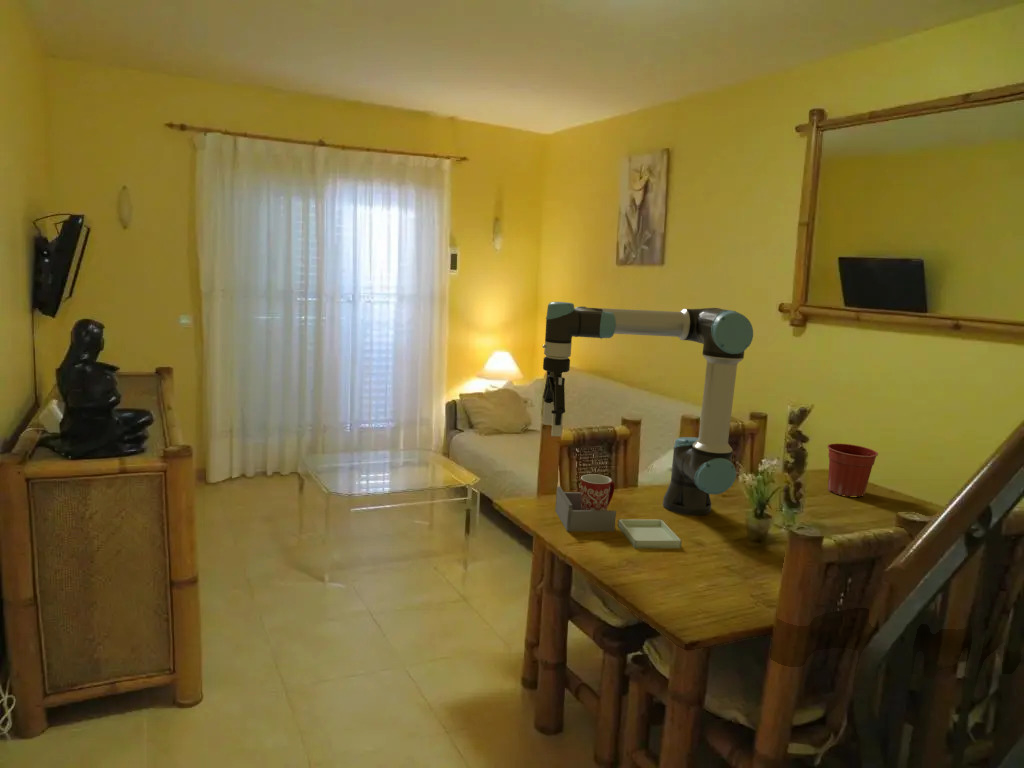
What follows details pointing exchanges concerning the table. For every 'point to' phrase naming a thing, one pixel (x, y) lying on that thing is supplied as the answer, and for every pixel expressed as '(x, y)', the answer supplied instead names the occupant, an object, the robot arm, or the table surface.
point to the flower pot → (849, 469)
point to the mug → (596, 492)
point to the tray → (649, 533)
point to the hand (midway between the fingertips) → (551, 430)
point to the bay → (581, 514)
